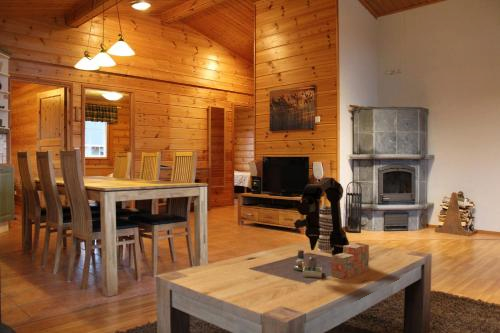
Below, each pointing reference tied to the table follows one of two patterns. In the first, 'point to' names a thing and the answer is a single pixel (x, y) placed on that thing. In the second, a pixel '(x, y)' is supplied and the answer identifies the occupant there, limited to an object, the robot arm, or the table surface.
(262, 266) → the table surface
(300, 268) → the crank base
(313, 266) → the dark metal cylinder
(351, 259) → the stack of blocks
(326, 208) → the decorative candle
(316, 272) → the tray
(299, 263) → the crank
